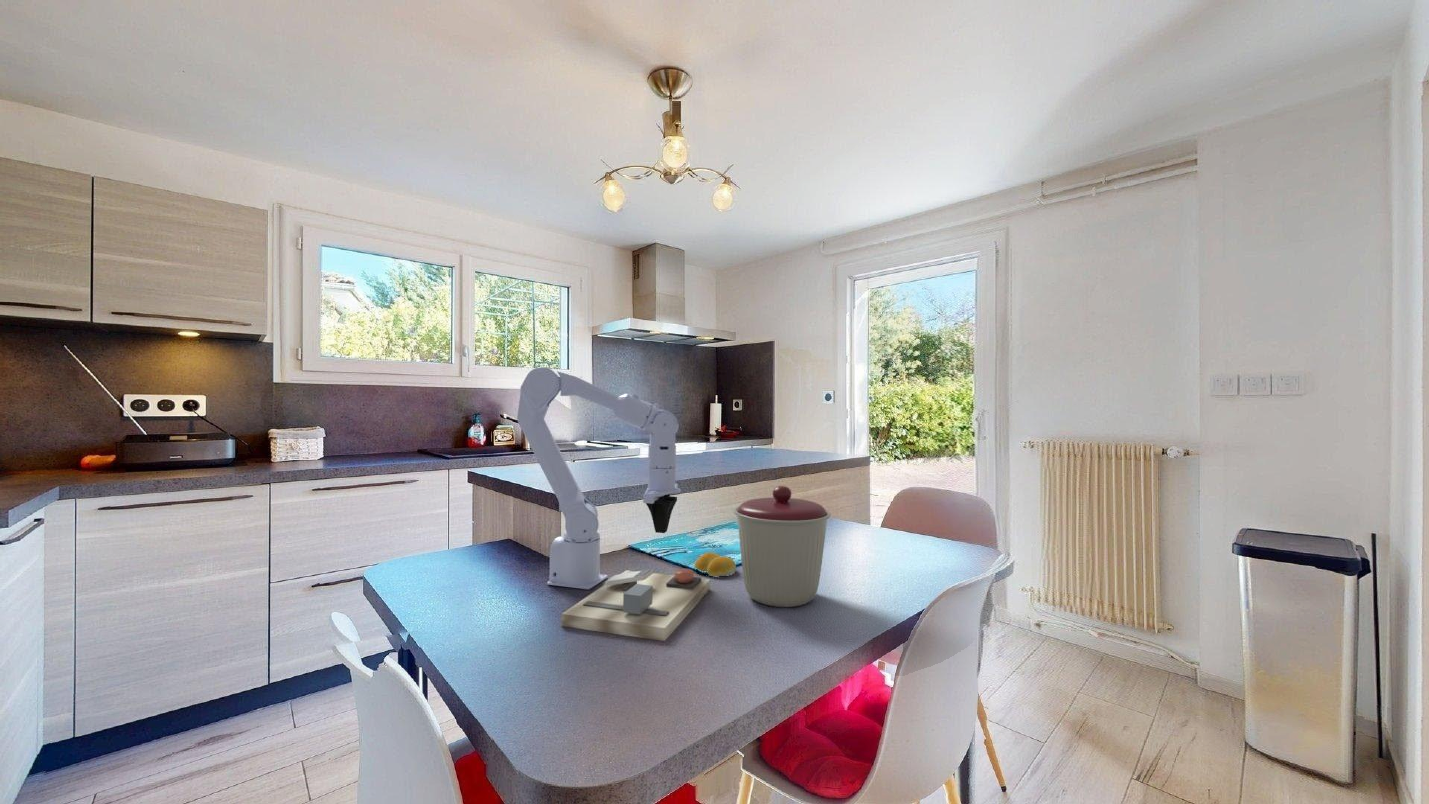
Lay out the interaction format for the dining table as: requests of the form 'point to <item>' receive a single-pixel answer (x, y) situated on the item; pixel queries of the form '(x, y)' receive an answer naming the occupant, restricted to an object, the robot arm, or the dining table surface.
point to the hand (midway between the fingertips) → (661, 532)
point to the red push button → (683, 575)
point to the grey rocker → (629, 577)
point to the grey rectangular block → (637, 599)
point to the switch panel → (653, 623)
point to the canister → (781, 548)
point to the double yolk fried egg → (715, 564)
